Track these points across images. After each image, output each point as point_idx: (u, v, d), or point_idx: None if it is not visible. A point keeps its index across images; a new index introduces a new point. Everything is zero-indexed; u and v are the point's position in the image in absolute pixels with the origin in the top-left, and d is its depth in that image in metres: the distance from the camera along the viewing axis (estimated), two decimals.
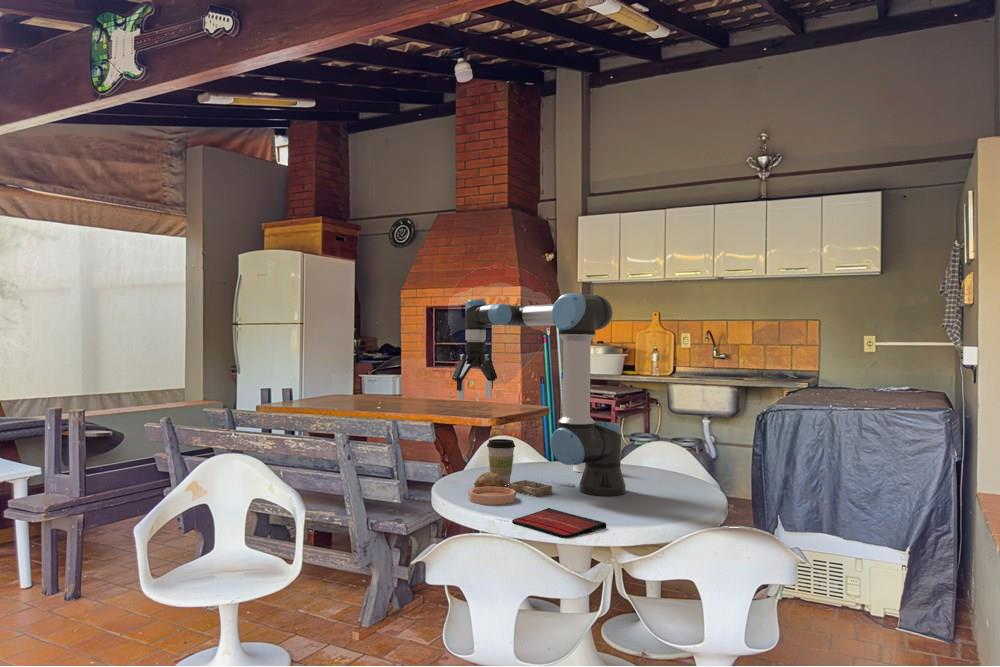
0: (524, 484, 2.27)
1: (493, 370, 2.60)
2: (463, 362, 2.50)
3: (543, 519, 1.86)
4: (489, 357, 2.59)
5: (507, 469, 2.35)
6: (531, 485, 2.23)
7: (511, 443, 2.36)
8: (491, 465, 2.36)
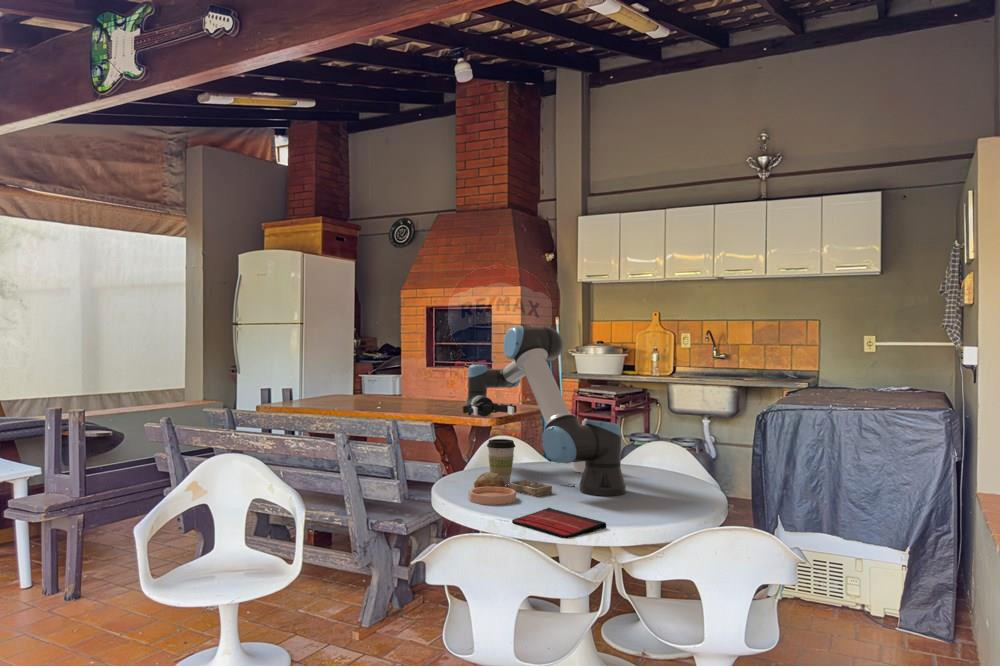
0: (524, 484, 2.27)
1: (509, 405, 2.60)
2: (468, 404, 2.59)
3: (543, 519, 1.86)
4: (501, 404, 2.64)
5: (507, 469, 2.35)
6: (531, 485, 2.23)
7: (511, 443, 2.36)
8: (491, 465, 2.36)
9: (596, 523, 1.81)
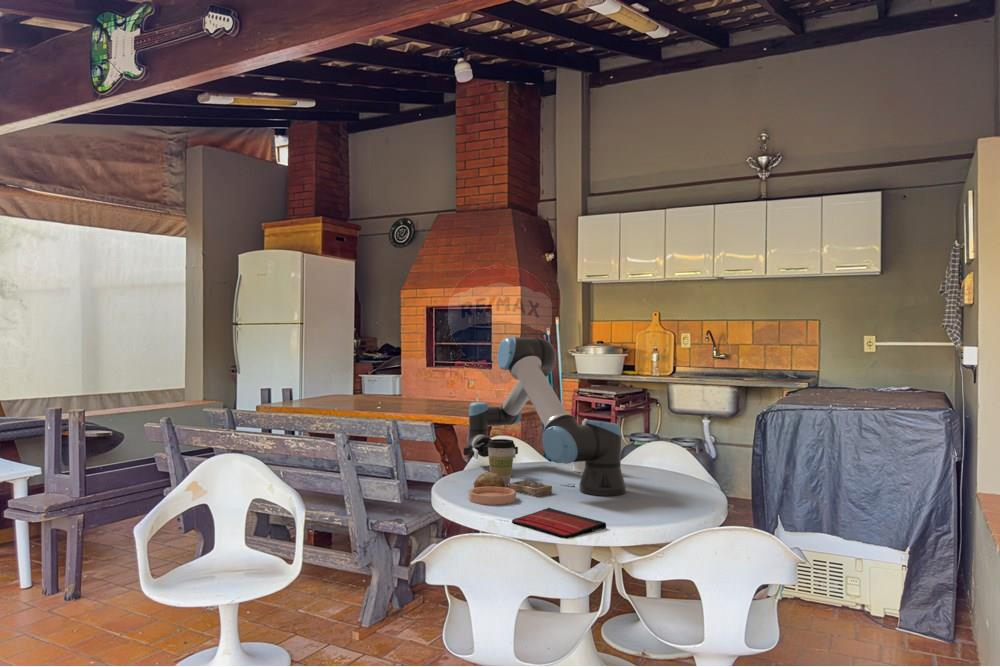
0: (524, 484, 2.27)
1: None
2: (469, 445, 2.56)
3: (543, 519, 1.86)
4: None
5: (507, 469, 2.35)
6: (531, 485, 2.23)
7: (511, 443, 2.36)
8: (491, 465, 2.36)
9: (596, 523, 1.81)
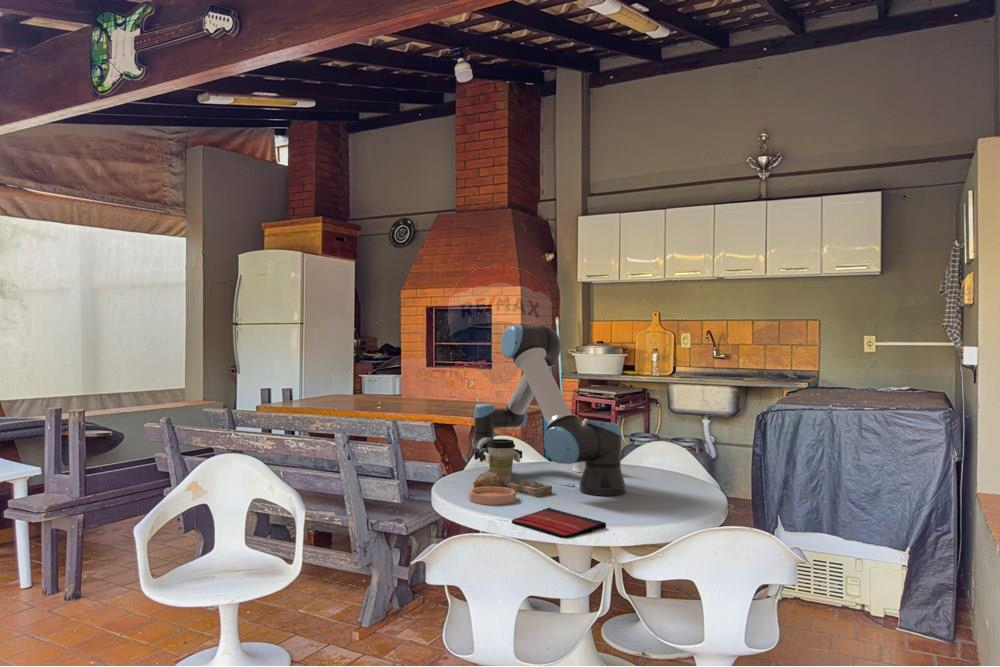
0: (524, 484, 2.27)
1: (516, 450, 2.46)
2: (477, 449, 2.46)
3: (542, 519, 1.86)
4: None
5: (507, 469, 2.35)
6: (531, 485, 2.23)
7: (511, 443, 2.36)
8: (491, 465, 2.36)
9: (596, 523, 1.81)
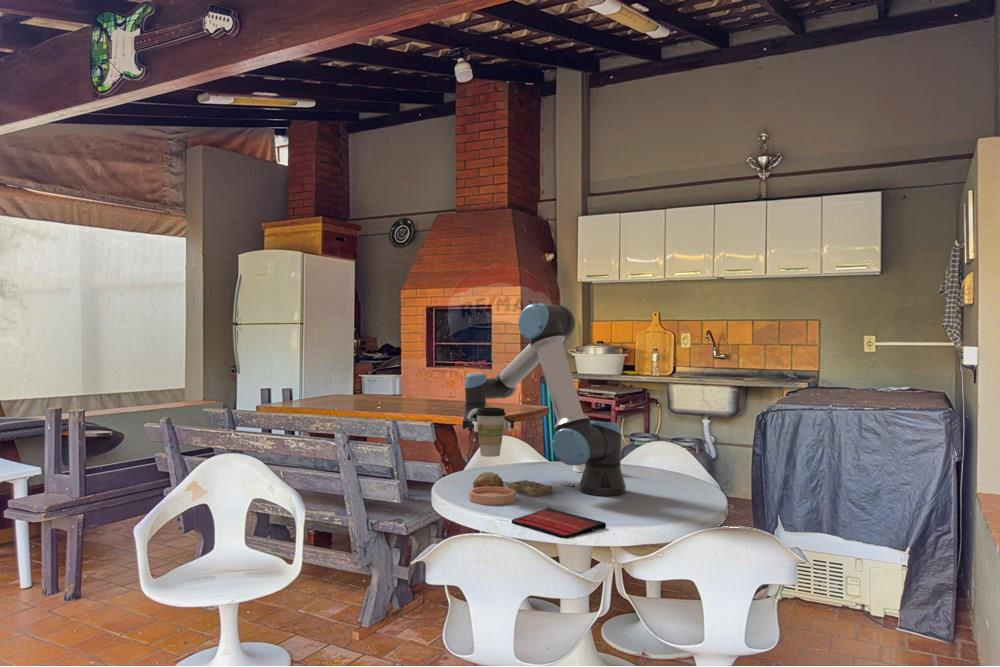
0: (524, 484, 2.27)
1: None
2: None
3: (542, 518, 1.86)
4: None
5: (497, 438, 2.20)
6: (531, 485, 2.23)
7: (501, 411, 2.21)
8: (480, 434, 2.21)
9: (596, 523, 1.81)
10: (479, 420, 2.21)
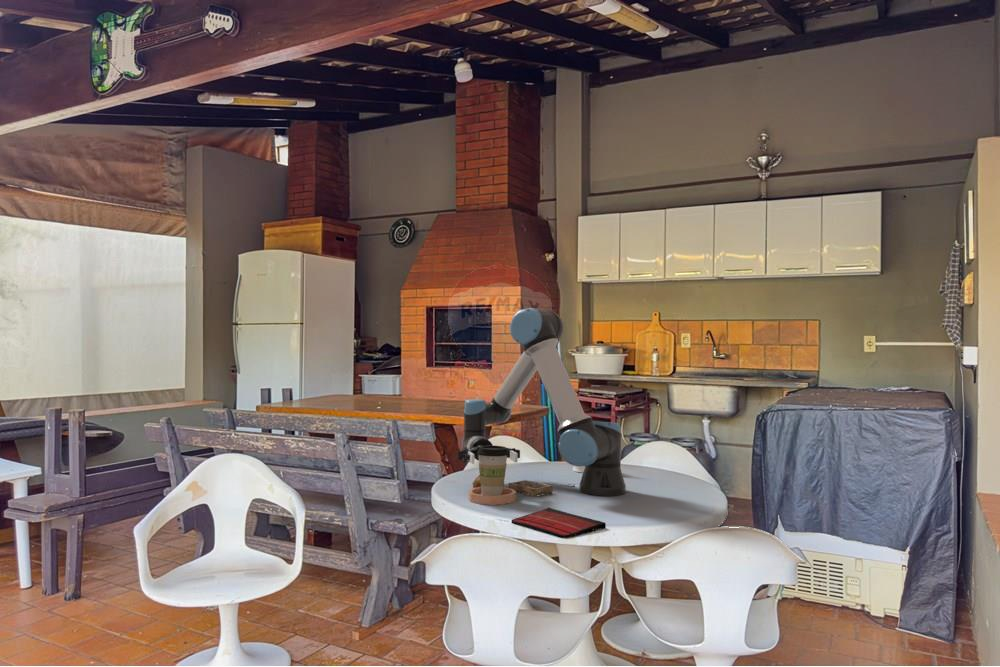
0: (524, 484, 2.27)
1: (511, 449, 2.24)
2: (464, 448, 2.24)
3: (542, 518, 1.86)
4: None
5: (499, 479, 2.12)
6: (531, 485, 2.23)
7: (504, 450, 2.12)
8: (481, 474, 2.13)
9: (595, 523, 1.81)
10: (481, 460, 2.12)
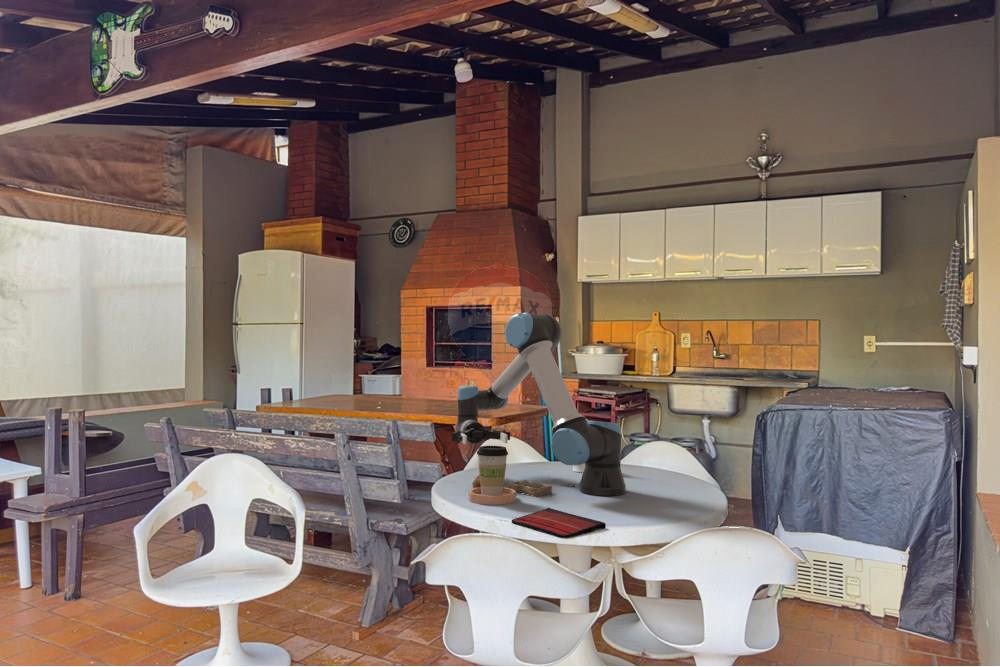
0: (524, 484, 2.27)
1: (502, 431, 2.37)
2: (457, 431, 2.36)
3: (542, 518, 1.86)
4: (493, 430, 2.41)
5: (499, 479, 2.12)
6: (531, 485, 2.23)
7: (503, 450, 2.13)
8: (481, 475, 2.13)
9: (595, 523, 1.81)
10: (481, 460, 2.12)
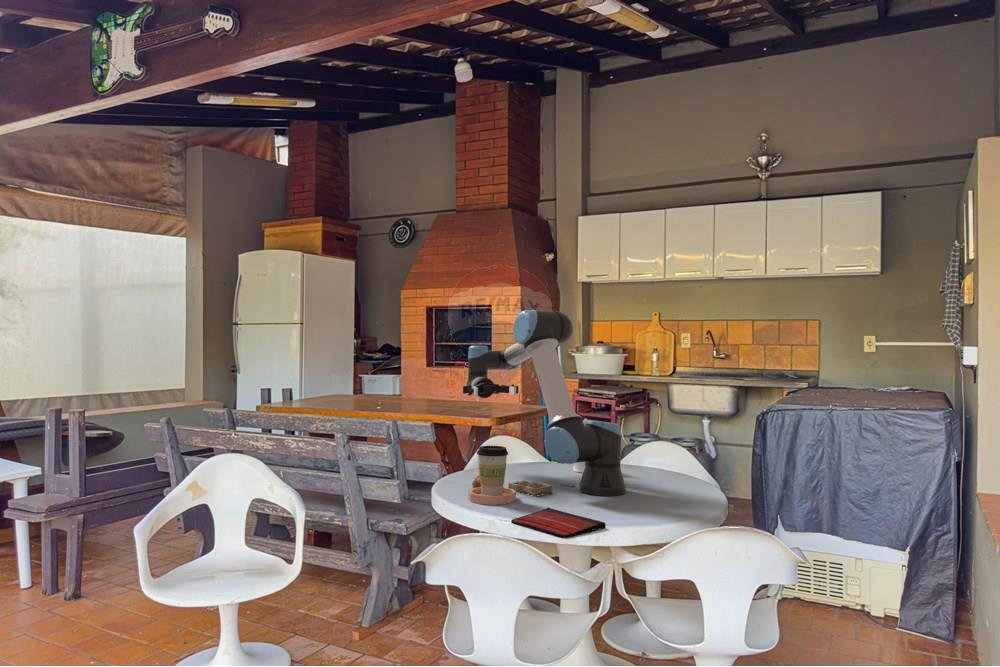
0: (524, 484, 2.27)
1: None
2: (469, 385, 2.50)
3: (542, 518, 1.86)
4: (502, 385, 2.55)
5: (499, 479, 2.12)
6: (531, 485, 2.23)
7: (504, 450, 2.13)
8: (481, 475, 2.13)
9: (595, 523, 1.81)
10: (481, 460, 2.12)
